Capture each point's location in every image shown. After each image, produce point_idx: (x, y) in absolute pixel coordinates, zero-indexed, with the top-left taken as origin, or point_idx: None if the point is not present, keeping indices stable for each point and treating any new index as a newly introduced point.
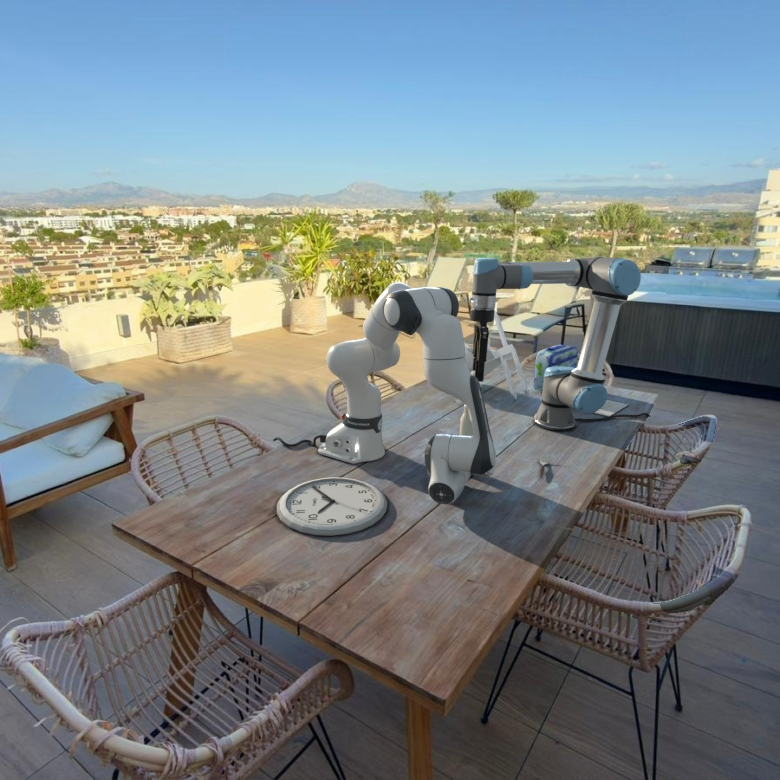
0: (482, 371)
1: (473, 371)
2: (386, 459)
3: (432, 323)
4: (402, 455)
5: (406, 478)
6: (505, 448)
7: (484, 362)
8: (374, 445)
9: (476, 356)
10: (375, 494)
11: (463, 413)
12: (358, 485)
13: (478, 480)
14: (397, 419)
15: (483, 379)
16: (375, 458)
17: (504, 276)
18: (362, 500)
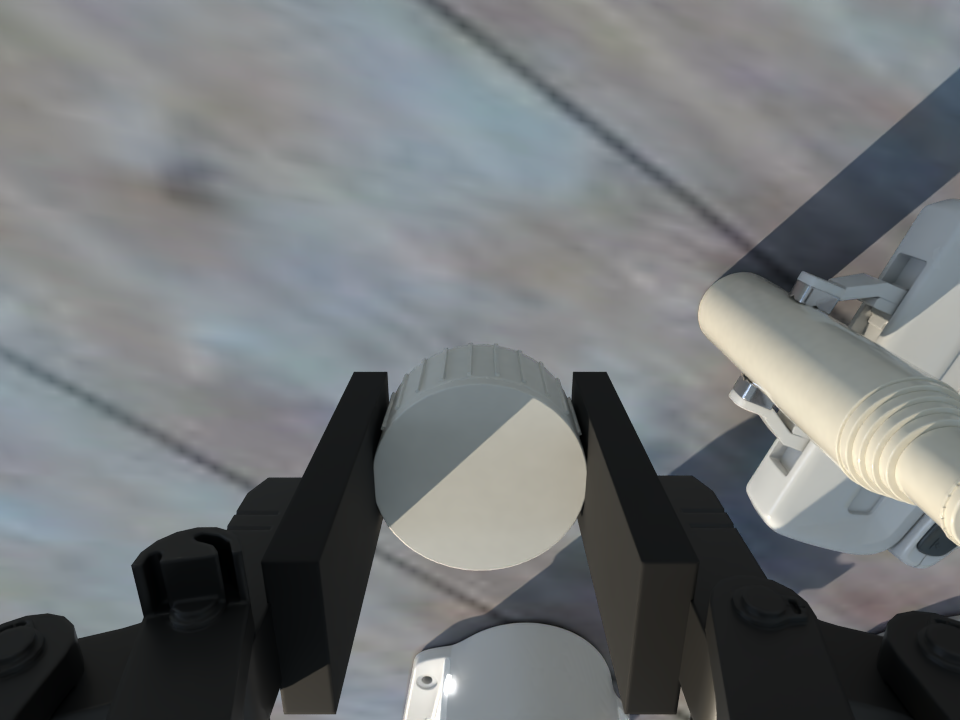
0: (704, 487)
1: (439, 537)
2: (588, 614)
3: None
4: (548, 558)
5: (773, 550)
6: (447, 13)
7: (755, 578)
8: (596, 707)
9: (268, 694)
10: None
11: (902, 500)
12: None
13: (845, 261)
14: (95, 569)
15: (531, 358)
16: (599, 657)
17: None
18: None
